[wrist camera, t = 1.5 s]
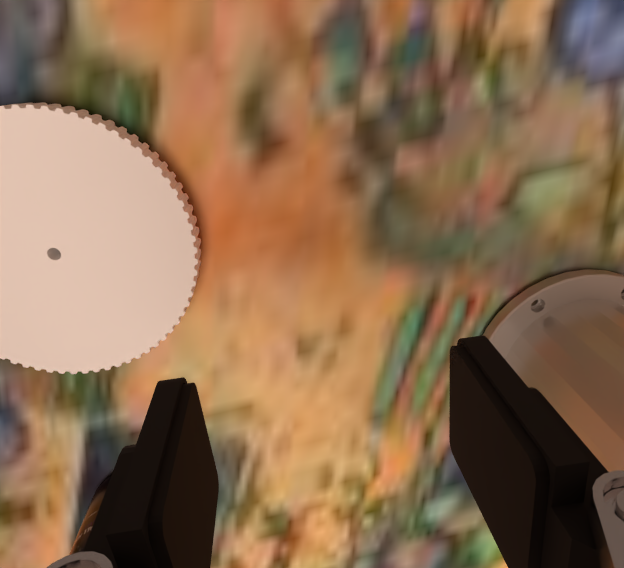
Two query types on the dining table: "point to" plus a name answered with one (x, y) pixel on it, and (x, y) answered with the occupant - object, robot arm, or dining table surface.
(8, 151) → the plastic lid
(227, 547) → the dining table surface
